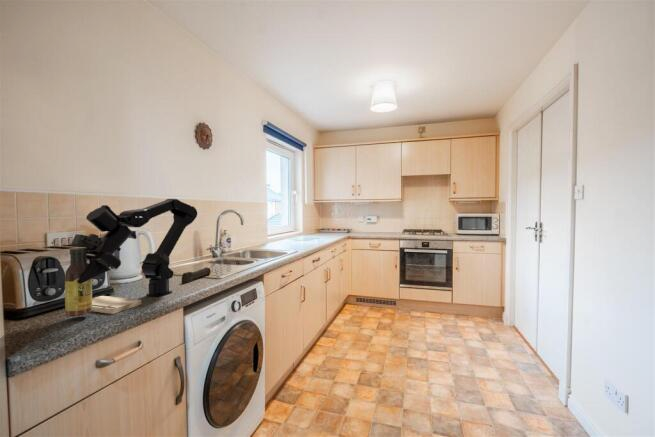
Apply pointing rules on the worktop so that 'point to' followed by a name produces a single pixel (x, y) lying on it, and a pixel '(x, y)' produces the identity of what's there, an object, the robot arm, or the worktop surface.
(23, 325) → the worktop surface
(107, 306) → the birch board
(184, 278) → the hand tool
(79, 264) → the sauce bottle
